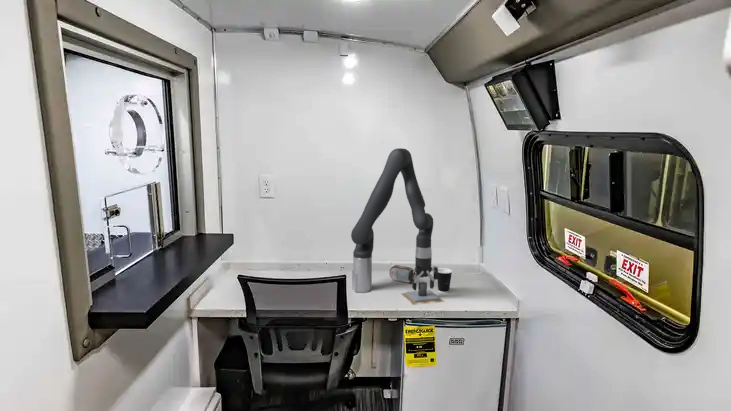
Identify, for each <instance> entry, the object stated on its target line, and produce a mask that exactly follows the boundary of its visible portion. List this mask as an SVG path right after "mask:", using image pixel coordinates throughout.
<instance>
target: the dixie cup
mask: <svg viewBox="0 0 731 411" xmlns="http://www.w3.org/2000/svg"><path fill="white" fill-rule="evenodd" d="M452 273H453V270H452V269H451V268H446V267H445V268H438V279H436V281H437V288H438V289H437V290H438V292H439V293H442V294H444V293H449V291H450V287H451V279H452Z"/></svg>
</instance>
